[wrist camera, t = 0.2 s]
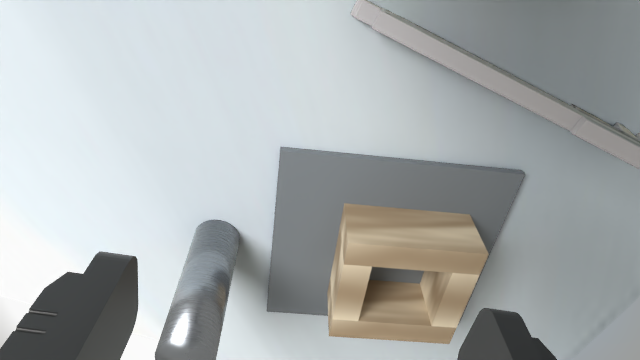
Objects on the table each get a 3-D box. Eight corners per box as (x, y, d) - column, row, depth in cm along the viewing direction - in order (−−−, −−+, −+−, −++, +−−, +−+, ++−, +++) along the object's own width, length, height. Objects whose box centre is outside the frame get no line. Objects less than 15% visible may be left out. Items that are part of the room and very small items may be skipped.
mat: (280, 146, 29) (280, 150, 28) (521, 170, 30) (524, 174, 29) (267, 306, 37) (266, 311, 36) (456, 319, 38) (458, 324, 38)
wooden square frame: (344, 203, 30) (348, 242, 27) (469, 214, 31) (488, 254, 28) (327, 293, 35) (329, 336, 32) (436, 301, 36) (449, 343, 33)
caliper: (642, 132, 29) (716, 188, 24) (629, 146, 29) (698, 203, 24) (358, -6, 24) (371, 25, 19) (348, 14, 24) (359, 49, 19)
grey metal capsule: (194, 218, 32) (152, 338, 23) (240, 221, 32) (215, 342, 24) (195, 251, 33) (157, 374, 25) (239, 255, 34) (215, 378, 25)
